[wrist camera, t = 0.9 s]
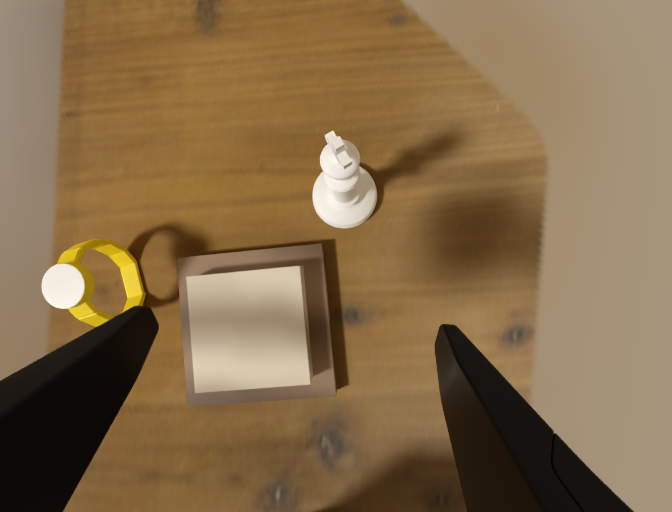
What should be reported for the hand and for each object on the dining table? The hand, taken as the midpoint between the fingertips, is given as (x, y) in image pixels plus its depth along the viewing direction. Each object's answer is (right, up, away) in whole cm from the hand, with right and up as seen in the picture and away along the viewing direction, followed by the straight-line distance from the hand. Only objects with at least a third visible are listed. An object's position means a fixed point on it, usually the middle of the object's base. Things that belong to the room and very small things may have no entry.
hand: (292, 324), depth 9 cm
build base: (-5, -3, +14) cm, 15 cm away
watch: (-15, 0, +15) cm, 21 cm away
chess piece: (+2, +7, +14) cm, 16 cm away
